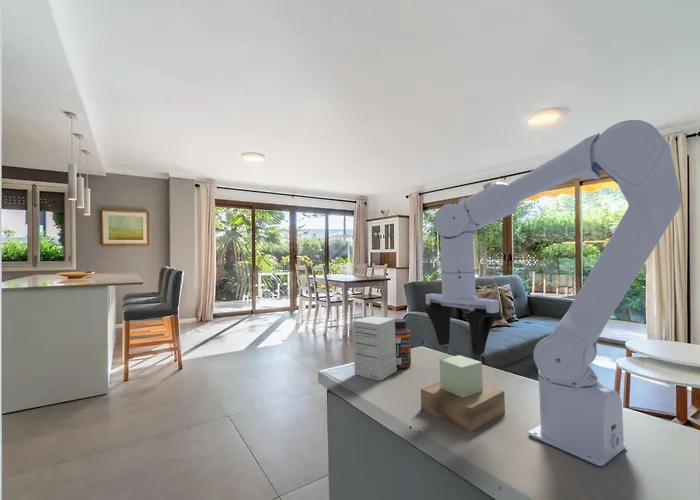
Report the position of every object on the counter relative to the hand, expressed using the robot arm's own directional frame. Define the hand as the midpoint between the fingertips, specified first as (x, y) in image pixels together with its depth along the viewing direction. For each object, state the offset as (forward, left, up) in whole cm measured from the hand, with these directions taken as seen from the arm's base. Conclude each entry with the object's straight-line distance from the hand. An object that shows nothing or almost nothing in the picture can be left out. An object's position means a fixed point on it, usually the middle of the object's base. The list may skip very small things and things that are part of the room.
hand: (460, 348), depth 60 cm
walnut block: (-1, +1, -11) cm, 11 cm away
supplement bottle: (+24, -6, -11) cm, 27 cm away
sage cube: (-1, +1, -7) cm, 7 cm away
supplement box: (+23, +2, -11) cm, 26 cm away
